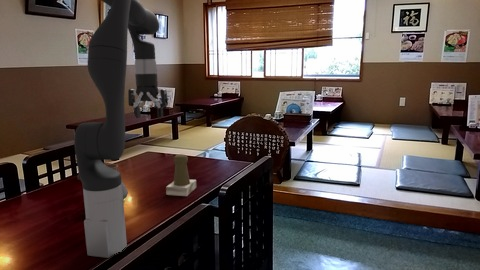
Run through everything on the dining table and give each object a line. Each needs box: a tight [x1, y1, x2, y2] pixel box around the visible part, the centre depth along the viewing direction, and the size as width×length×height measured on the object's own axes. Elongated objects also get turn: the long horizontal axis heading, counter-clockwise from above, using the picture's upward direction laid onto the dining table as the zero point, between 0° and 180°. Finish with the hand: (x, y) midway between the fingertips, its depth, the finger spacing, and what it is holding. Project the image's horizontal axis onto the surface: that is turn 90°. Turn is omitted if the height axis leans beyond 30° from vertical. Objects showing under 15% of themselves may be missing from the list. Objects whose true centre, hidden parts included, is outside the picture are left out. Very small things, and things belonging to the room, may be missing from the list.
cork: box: [173, 153, 190, 186], centre depth 136 cm, size 6×6×11 cm
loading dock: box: [165, 178, 197, 197], centre depth 137 cm, size 10×8×3 cm
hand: (149, 118), depth 132 cm, fingers open, 8 cm apart
